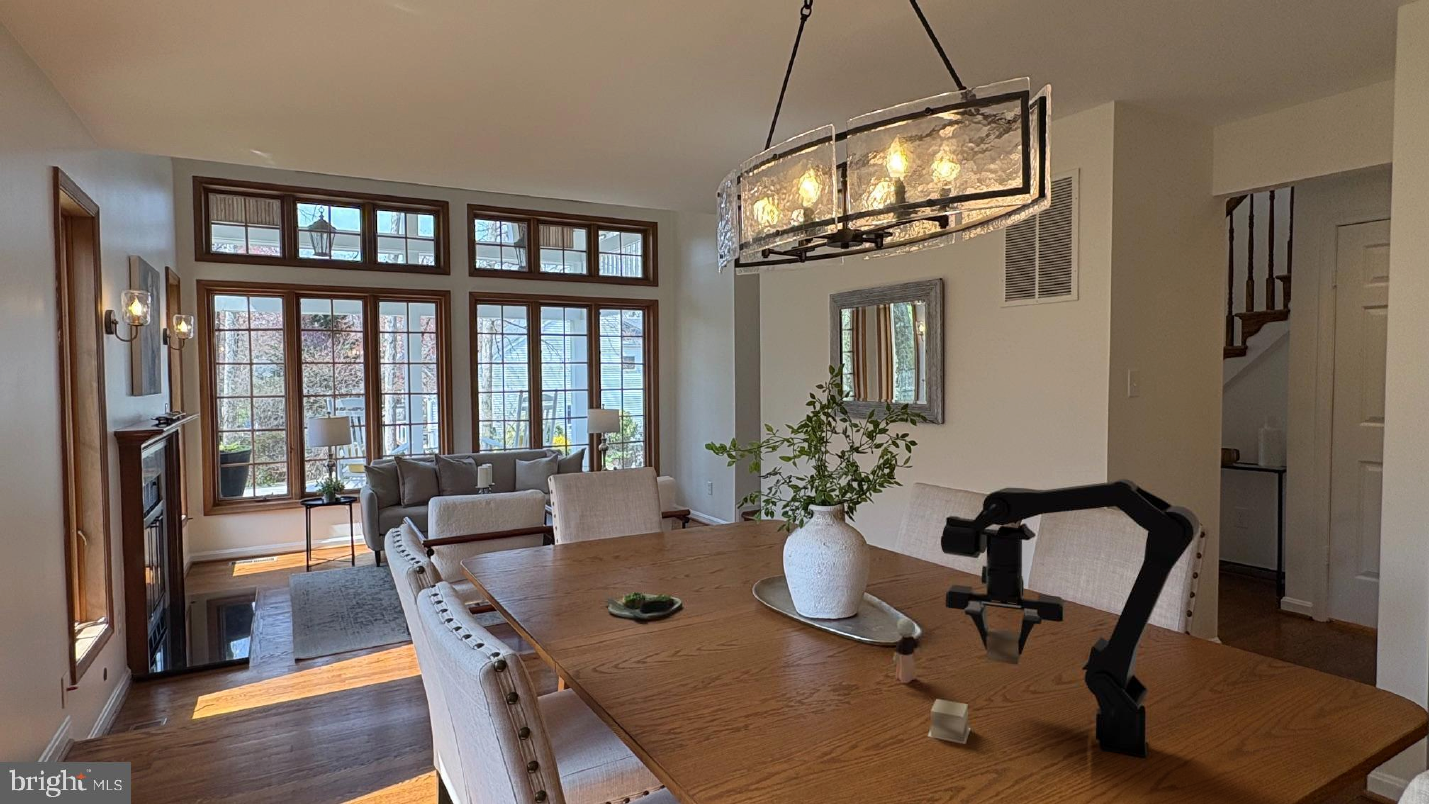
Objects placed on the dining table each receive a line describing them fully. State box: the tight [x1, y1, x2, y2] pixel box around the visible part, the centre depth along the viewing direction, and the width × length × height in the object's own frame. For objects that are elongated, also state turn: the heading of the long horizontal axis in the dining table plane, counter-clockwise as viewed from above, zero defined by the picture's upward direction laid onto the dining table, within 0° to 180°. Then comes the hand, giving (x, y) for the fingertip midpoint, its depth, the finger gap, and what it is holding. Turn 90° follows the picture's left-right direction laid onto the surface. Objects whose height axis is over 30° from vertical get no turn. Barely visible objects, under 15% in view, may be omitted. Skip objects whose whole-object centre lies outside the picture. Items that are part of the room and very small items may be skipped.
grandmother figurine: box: [892, 617, 922, 684], centre depth 145 cm, size 8×4×13 cm, turn 141°
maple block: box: [930, 698, 969, 742], centre depth 124 cm, size 5×5×4 cm
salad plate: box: [604, 591, 683, 621], centre depth 193 cm, size 19×18×5 cm
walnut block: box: [985, 627, 1021, 666], centre depth 132 cm, size 5×5×4 cm
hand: (1003, 651), depth 132 cm, fingers closed on walnut block, 5 cm apart
